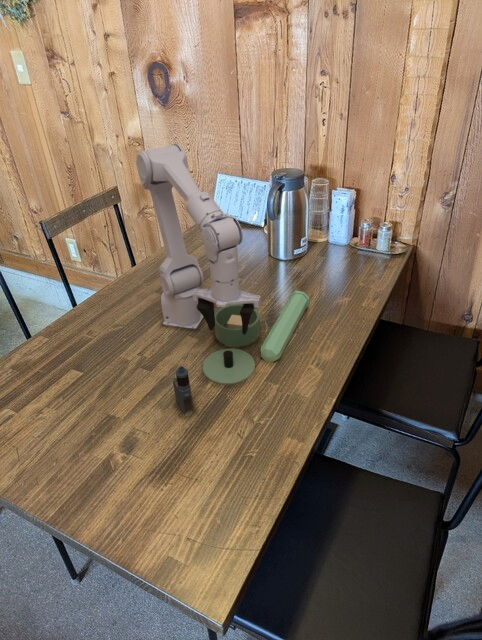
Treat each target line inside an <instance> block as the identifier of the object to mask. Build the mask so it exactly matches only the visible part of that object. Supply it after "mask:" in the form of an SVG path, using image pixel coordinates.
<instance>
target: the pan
mask: <svg viewBox="0 0 482 640" xmlns="http://www.w3.org/2000/svg"><path fill="white" fill-rule="evenodd" d="M242 307H243V305H241V304H236V305H227V306H226V307H220V308H219V309H218V310H217V311H216V312H214V315H215V326H214V334H215V339H216V340H217V341H218V342H219V343H221V344H223V345H225V346H228V347H233V348H234V347H245V346H247V345H251V344H253V343H254V342H255V341H256V340H258V339H259V337H260V334H261V325H260V324H261V321H260V320H261V318H260V312H259V311H258V309H257V308H254V310H253V312H252V314H251V317H250V320H249V325H248V331H247V333H246V334H243V333H242V328H239V329H231V328H227V326H226V327H225V325H227V322H228V321H229V319H230V317H231V315H238V316H241V315H240V311H241V309H242Z"/></svg>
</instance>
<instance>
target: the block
mask: <svg viewBox="0 0 482 640" xmlns="http://www.w3.org/2000/svg"><path fill="white" fill-rule="evenodd" d="M226 328H231V329H239V328H242V319H241V316H238V315H231V317H230V319H229V321H228V322H227V324H226Z"/></svg>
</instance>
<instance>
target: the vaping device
mask: <svg viewBox="0 0 482 640" xmlns="http://www.w3.org/2000/svg"><path fill="white" fill-rule="evenodd" d="M172 384H173V390H174V396H175V401H176V403H177V405H178V407H179V409H180V411H181V413H182V414H183V415H186V414H190V413H192V412H194V410H195V408H194V403H193V395H192V388H191V384H190V377H189V370H188V369H187V368H185V367H184V366H182V365H181V366H179V367H178V368H177V369H176V370H175V372H174V374H173V378H172Z"/></svg>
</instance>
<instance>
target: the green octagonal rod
mask: <svg viewBox="0 0 482 640" xmlns="http://www.w3.org/2000/svg"><path fill="white" fill-rule="evenodd" d="M310 299H311V298H310V297H309V296H308V295H307V294H306V292H305V291H301V290H294V291H293V292H291V293H290V294H289V295H288V300H287V301H286V304H285V305H284V308H283V309H282V311H281V312H280V314H279V315H278V318H277V319H276V320H275V322H274V324H273V326H272V327H271V329H270V331H269V333H268V335H266V338H265V339H264V341H263V343H262V344H261V346H260V358H262V359H263V360H264V361H265V362H268V363H274V362H275V361H277V360H279V359H280V358H281V356H282V354H283V353H284V350H285V349H286V347H287V345H288V343H289V341H290V339H291V337H292V335H293V333H294V332H295V330H296V328H297V326H298V324H299V323H300V321H301V319H302V316H303V314H304V313H305V311H306V309H307V308H309V307H310Z"/></svg>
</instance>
